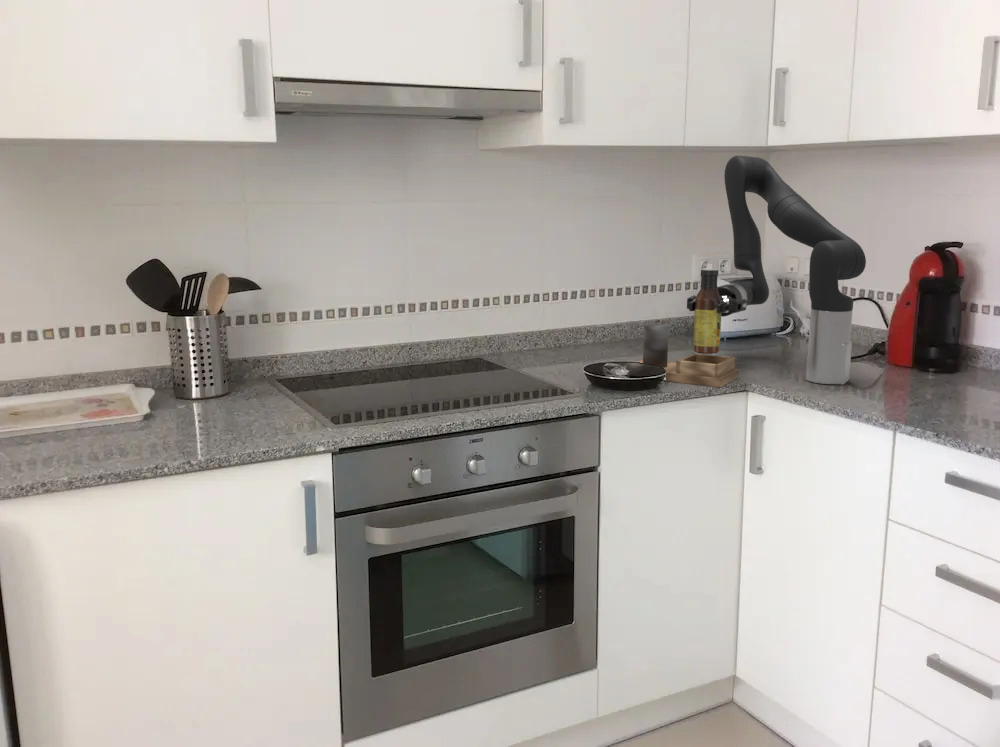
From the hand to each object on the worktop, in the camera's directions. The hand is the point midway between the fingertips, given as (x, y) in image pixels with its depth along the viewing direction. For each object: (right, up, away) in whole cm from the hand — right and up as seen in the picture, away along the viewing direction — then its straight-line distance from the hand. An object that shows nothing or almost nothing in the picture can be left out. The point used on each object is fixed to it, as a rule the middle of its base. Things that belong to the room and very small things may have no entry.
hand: (704, 308), depth 209 cm
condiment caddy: (-4, -16, +9) cm, 19 cm away
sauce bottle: (+1, -10, +4) cm, 11 cm away
